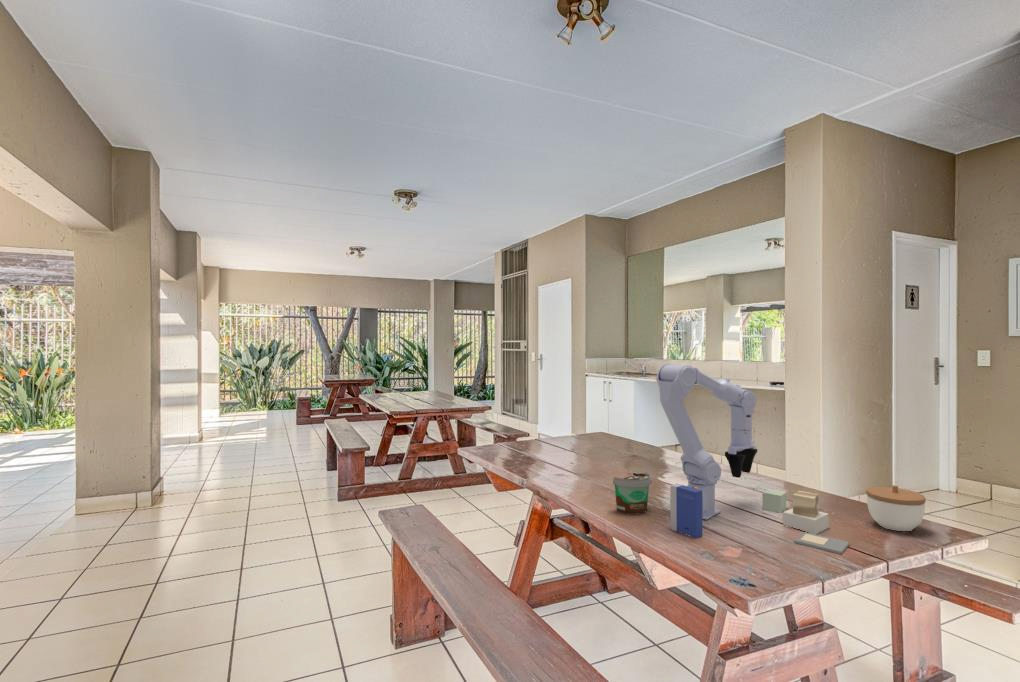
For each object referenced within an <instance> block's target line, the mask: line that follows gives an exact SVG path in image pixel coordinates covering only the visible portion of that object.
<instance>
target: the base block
mask: <svg viewBox="0 0 1020 682" xmlns="http://www.w3.org/2000/svg"><path fill="white" fill-rule="evenodd" d="M782 516H783V517H782V518H783V519H782V521H783V522H782V523H783V524H782V526H783V525H786V526H789V527H793V528H796V529H800V530H803V531H806V532H809V533H812V534H816V535H819V534H820V533H821V532H823V531H825V530H827V529H829V526H830V525H829V517H830V515H829V513H826V512H823V511H819V513H818V514H817V515H816V516H815V518H813V517H808V516H803V515H798V514H793V507H792V508H790V509H787V510H784V511H783V512H782ZM789 527H788V528H789ZM793 528H792V529H793ZM796 529H795V530H796ZM800 530H799V531H800ZM803 531H802V532H803ZM819 532H820V533H819Z"/></svg>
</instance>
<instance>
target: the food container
mask: <svg viewBox="0 0 1020 682" xmlns="http://www.w3.org/2000/svg"><path fill="white" fill-rule="evenodd" d="M652 482H653V481H652V478H651V475H650V474H649V473H647V472H645V474H644V475H640V476H632V475H631V476H626V477H624V478H620V477H616V476H614V477H613V480H612V485H614V490H615V491H614V492H615V502H616V503H615V504H616V505H615V506H616V511H618V512H619V511H620V512H619V513H623V514H628V513H630V515H637V514H636V513H641V514H644V513H646V512H647V511H648V503H649V501H648V500H649V491H650V490H649V489H650V486H651V485H652ZM645 511H646V512H645ZM643 512H644V513H643Z"/></svg>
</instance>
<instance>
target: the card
mask: <svg viewBox="0 0 1020 682" xmlns="http://www.w3.org/2000/svg"><path fill="white" fill-rule="evenodd" d="M794 542H795V543H794ZM793 543H794V544H797V543H798V545H801V546H805V547H810V548H814V549H818V550H822V551H826V552H830V553H833V554H834V553H835V554H839V555H842V554H843V553H844V552H845V550H846V549H847V548H848V547H849V546H850V541H845V540H841V539H838V538H833V537H829V536H824V535H821V534H812V533H807V532H803V531H802V533H800V534H799V535H798V536H797V537H796V538H795V539H794V540H793Z"/></svg>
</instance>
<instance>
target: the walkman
mask: <svg viewBox="0 0 1020 682" xmlns="http://www.w3.org/2000/svg"><path fill="white" fill-rule="evenodd" d="M669 502H670V506H669V507H670V508H669V509H670V510H669V513H670V517H669V518H670V519H669V520H670V521H669V524H670V525H669V526H670V530H671V529H673V530H676V531H679V532H682V533H684V534H683V535H685V534H687V535H686V536H688V535H690V536H689V537H691V536H692V537H691V538H693V539H698V538H701V537H703V519H702V490H699V488H696V487H693V488H692V487H688V485H683V484H680V483H675V484H671V485H670V501H669ZM673 530H672V531H673ZM676 531H675V532H676ZM679 532H678V533H679ZM682 533H681V534H682Z"/></svg>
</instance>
